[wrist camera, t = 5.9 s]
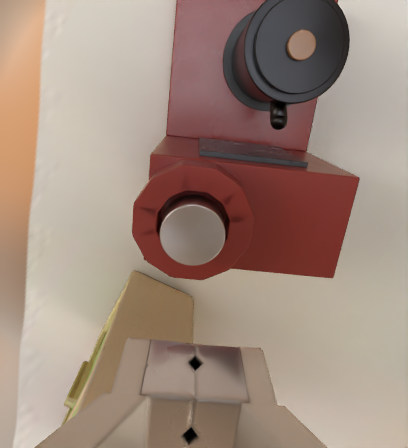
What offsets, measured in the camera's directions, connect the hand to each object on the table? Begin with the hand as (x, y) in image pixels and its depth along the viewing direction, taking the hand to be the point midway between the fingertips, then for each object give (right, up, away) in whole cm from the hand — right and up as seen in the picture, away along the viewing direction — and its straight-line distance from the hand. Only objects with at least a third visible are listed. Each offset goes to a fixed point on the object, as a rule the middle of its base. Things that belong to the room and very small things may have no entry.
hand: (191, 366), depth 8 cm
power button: (0, +3, +10) cm, 10 cm away
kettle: (+5, +15, +17) cm, 23 cm away
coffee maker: (+2, +8, +23) cm, 24 cm away
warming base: (+3, +15, +20) cm, 25 cm away
